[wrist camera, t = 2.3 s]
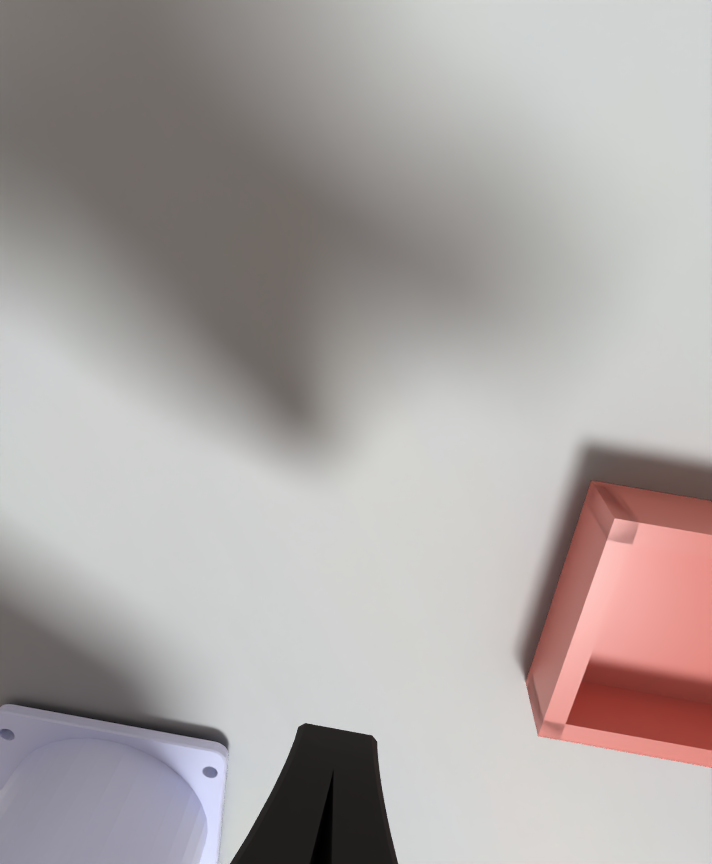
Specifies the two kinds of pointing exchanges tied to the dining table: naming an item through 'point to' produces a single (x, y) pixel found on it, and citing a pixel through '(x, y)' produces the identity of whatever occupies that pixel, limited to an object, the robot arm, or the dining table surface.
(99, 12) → the dining table surface
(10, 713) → the robot arm
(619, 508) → the tray
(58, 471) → the dining table surface
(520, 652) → the dining table surface
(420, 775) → the dining table surface
